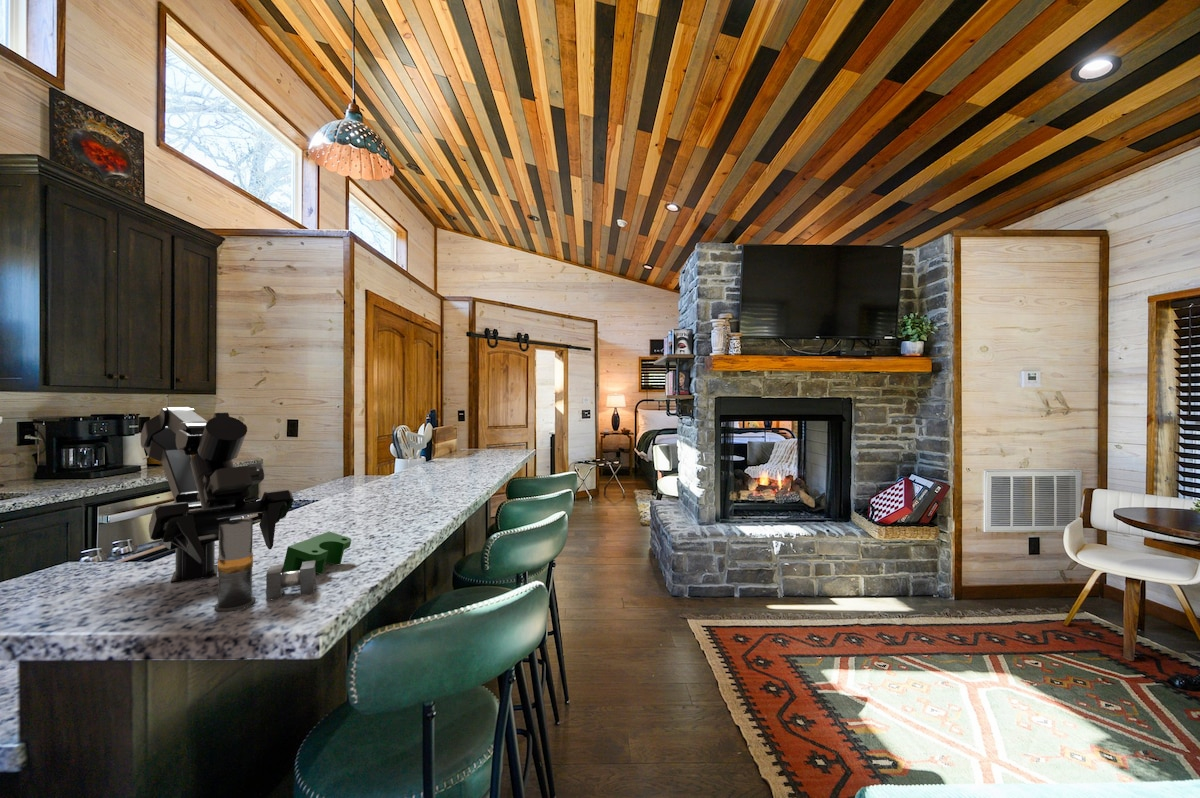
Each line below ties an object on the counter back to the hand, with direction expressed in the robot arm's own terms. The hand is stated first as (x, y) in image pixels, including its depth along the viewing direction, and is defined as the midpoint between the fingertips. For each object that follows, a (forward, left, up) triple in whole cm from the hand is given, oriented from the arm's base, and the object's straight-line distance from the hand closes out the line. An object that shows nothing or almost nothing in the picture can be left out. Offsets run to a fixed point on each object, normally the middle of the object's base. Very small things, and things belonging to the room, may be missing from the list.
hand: (238, 554), depth 79 cm
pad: (-1, 0, -8) cm, 8 cm away
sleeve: (-1, 0, -8) cm, 8 cm away
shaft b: (-2, +8, -8) cm, 11 cm away
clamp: (-13, +13, -9) cm, 20 cm away
